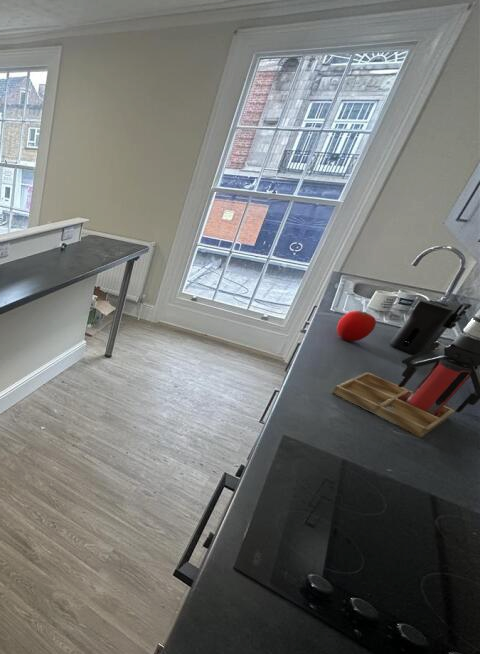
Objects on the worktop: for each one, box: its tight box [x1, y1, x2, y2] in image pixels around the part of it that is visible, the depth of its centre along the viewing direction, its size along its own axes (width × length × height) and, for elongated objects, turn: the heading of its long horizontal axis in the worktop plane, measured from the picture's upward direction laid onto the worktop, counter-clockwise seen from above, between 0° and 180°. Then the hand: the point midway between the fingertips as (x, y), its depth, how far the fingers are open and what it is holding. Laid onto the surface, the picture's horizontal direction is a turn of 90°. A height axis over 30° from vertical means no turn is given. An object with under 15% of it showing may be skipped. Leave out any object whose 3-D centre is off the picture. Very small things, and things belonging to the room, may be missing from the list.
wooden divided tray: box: [331, 371, 456, 439], centre depth 126 cm, size 22×22×3 cm
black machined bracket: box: [389, 299, 473, 355], centre depth 161 cm, size 12×21×22 cm, turn 119°
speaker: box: [403, 358, 476, 416], centre depth 120 cm, size 8×8×18 cm
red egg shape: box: [336, 310, 377, 342], centre depth 165 cm, size 11×11×13 cm
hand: (428, 398), depth 122 cm, fingers open, 13 cm apart
